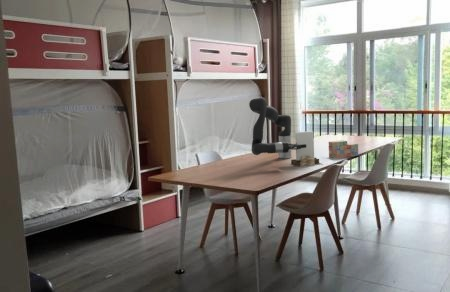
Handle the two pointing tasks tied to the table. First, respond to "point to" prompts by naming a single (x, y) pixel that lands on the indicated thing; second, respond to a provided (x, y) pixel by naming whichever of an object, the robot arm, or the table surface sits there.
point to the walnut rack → (297, 162)
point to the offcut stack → (307, 161)
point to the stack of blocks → (342, 149)
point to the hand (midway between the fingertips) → (305, 145)
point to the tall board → (306, 139)
